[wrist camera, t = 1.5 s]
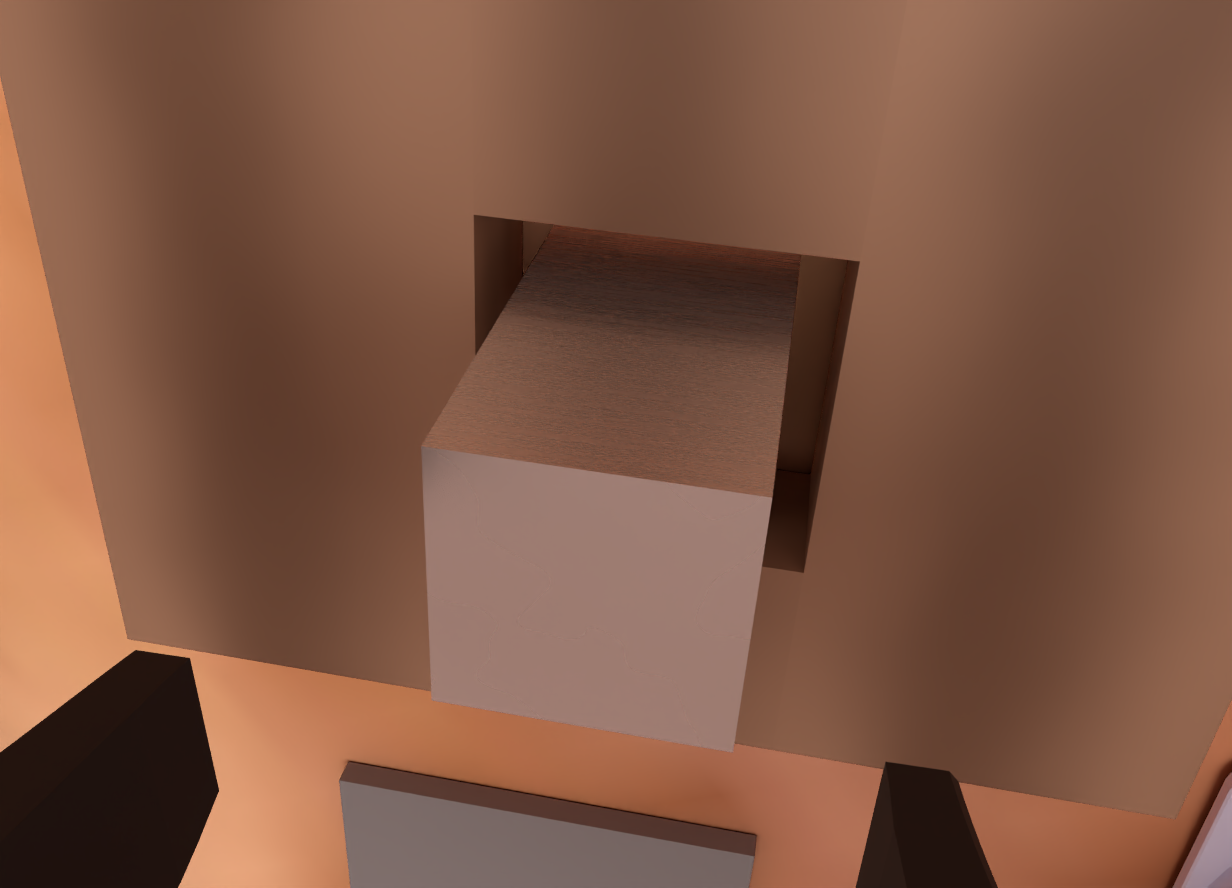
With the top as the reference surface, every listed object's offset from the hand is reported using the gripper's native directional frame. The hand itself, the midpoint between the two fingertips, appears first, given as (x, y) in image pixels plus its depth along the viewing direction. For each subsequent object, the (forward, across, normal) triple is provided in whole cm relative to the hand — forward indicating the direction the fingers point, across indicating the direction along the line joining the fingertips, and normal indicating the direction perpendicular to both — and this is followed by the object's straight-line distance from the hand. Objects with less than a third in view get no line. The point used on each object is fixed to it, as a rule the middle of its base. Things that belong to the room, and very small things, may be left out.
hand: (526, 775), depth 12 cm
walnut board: (+10, 0, 0) cm, 11 cm away
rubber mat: (+10, +2, +18) cm, 21 cm away
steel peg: (+11, 0, 0) cm, 11 cm away
